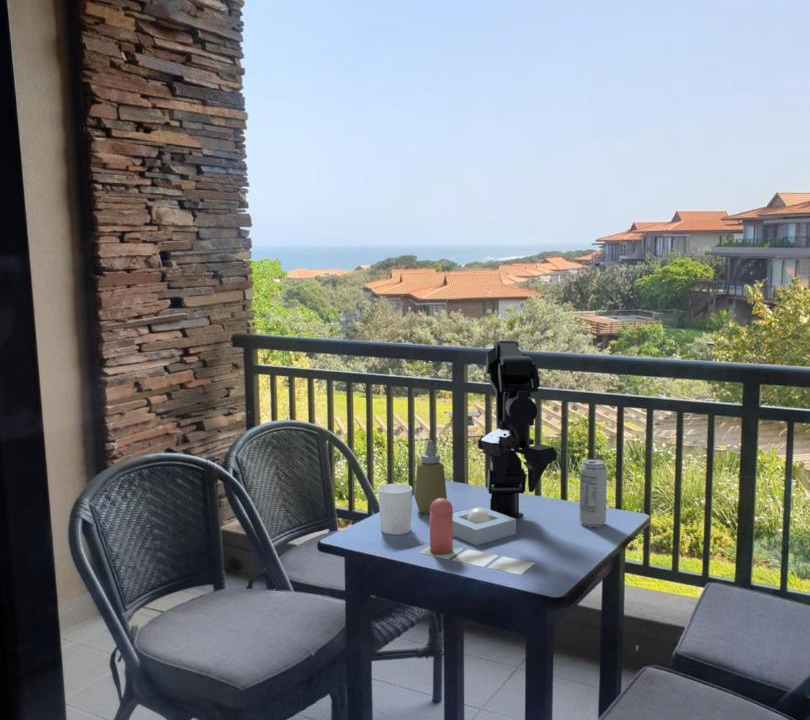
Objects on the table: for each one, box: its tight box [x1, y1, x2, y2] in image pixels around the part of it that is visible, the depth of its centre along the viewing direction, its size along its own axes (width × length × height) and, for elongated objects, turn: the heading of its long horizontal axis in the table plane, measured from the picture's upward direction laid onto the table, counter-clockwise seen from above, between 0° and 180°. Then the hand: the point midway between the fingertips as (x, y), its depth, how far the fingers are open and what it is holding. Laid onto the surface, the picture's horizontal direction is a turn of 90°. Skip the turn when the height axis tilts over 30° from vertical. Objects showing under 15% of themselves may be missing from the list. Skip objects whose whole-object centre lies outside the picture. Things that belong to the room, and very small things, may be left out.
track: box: [418, 545, 535, 576], centre depth 165 cm, size 25×8×1 cm, turn 58°
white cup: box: [377, 483, 413, 536], centre depth 184 cm, size 8×8×10 cm
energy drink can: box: [579, 458, 608, 528], centre depth 186 cm, size 6×6×15 cm
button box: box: [453, 506, 517, 546], centre depth 180 cm, size 12×12×4 cm
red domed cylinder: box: [429, 498, 454, 555], centre depth 168 cm, size 5×5×11 cm
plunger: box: [467, 508, 489, 524], centre depth 180 cm, size 5×5×6 cm
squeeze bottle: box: [413, 439, 448, 515], centre depth 197 cm, size 8×8×18 cm
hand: (516, 487), depth 172 cm, fingers open, 9 cm apart
